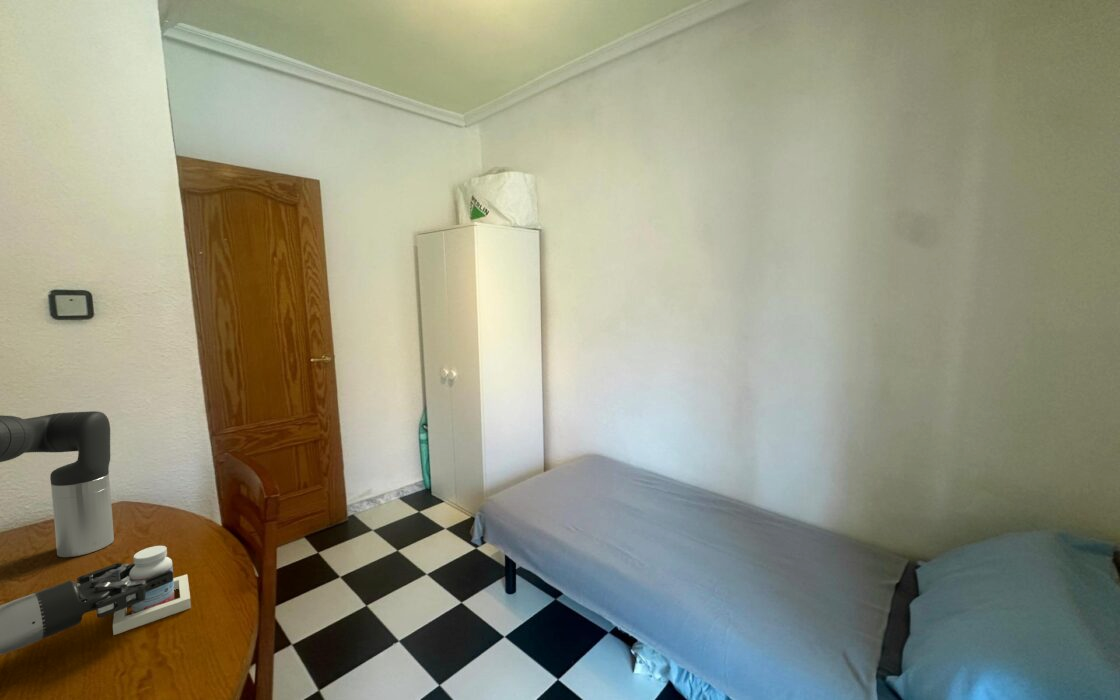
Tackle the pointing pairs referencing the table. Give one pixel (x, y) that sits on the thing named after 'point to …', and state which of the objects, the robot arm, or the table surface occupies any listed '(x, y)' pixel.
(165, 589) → the pill bottle
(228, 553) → the table surface
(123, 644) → the table surface
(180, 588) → the holder
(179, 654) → the table surface
